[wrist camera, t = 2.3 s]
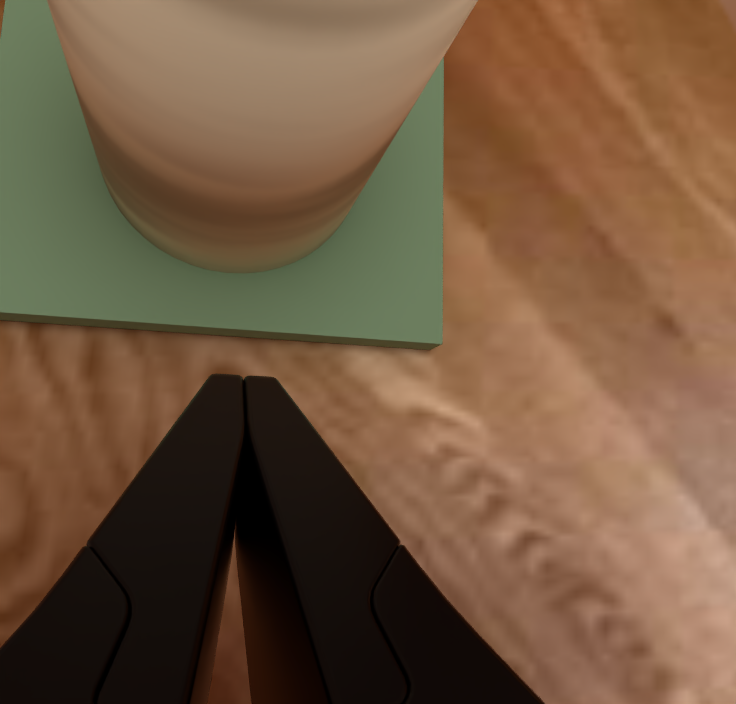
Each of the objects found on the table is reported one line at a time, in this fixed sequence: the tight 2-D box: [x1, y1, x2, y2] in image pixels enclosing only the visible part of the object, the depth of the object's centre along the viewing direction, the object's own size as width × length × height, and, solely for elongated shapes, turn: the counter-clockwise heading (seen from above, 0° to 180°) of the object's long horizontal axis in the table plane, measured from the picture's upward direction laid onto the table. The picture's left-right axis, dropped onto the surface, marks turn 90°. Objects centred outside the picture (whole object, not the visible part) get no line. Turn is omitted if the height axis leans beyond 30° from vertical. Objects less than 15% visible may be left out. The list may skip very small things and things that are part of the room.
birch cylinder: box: [47, 0, 478, 273], centre depth 13 cm, size 7×7×11 cm
